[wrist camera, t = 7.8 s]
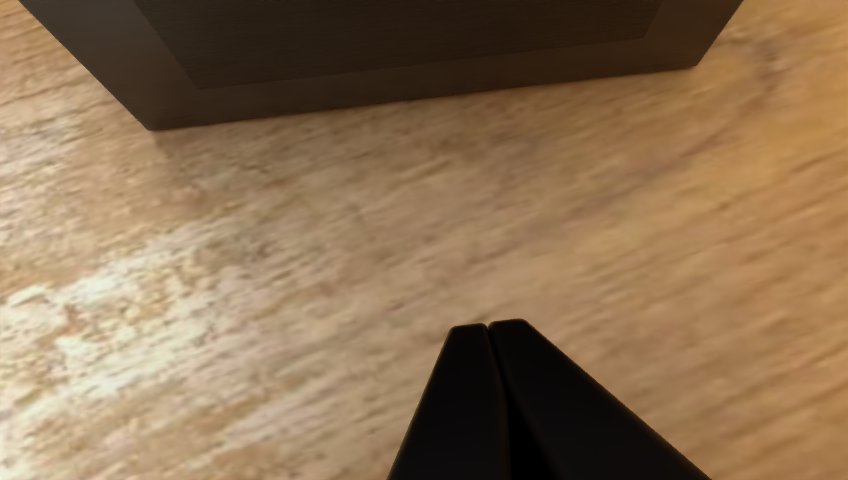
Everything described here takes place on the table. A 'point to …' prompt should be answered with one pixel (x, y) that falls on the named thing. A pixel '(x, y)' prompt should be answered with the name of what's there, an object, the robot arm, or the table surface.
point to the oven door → (361, 49)
